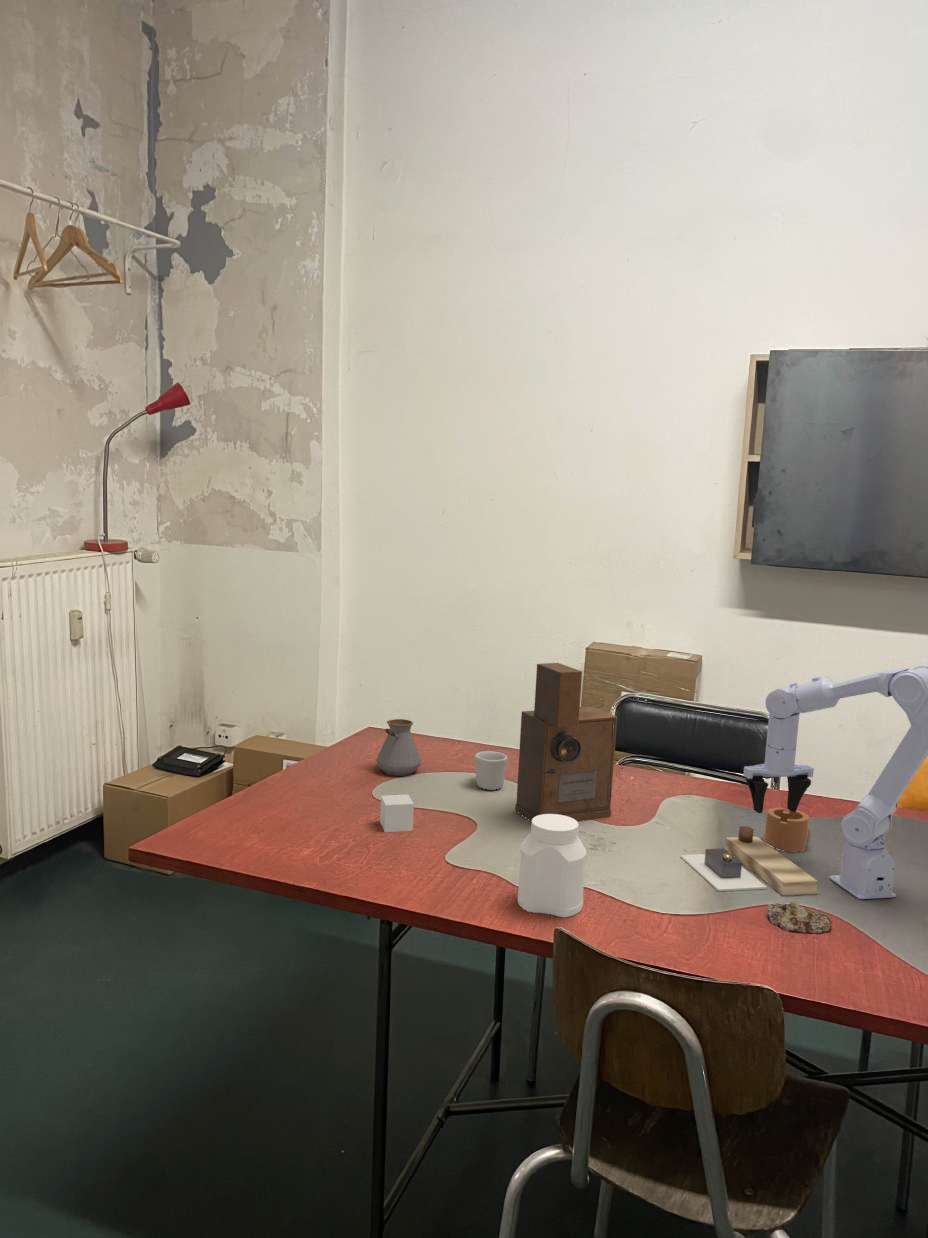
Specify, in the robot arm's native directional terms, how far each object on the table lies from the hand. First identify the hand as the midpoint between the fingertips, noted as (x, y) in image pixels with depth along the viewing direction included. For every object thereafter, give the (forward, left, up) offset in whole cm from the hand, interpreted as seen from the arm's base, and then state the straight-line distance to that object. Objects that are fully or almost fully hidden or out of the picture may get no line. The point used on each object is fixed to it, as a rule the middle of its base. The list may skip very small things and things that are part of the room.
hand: (774, 811), depth 185 cm
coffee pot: (+57, +70, -10) cm, 91 cm away
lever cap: (-6, +14, -10) cm, 18 cm away
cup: (+49, +48, -10) cm, 69 cm away
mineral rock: (-28, +11, -10) cm, 31 cm away
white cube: (+24, +74, -10) cm, 78 cm away
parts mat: (-6, +14, -10) cm, 18 cm away
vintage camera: (+27, +36, -10) cm, 46 cm away
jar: (-15, +52, -10) cm, 55 cm away
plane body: (-6, +4, -10) cm, 12 cm away
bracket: (+10, -10, -10) cm, 18 cm away
